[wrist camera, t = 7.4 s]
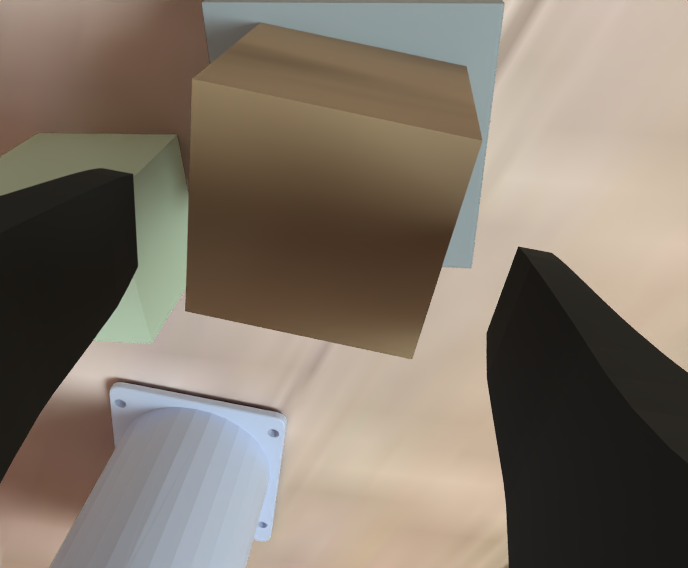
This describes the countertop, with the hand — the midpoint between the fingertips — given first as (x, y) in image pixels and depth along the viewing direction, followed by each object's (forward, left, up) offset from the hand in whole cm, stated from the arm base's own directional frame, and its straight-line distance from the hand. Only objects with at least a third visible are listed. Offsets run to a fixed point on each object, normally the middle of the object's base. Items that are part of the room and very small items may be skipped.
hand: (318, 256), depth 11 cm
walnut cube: (0, 0, -5) cm, 5 cm away
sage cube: (-5, +8, -9) cm, 13 cm away
